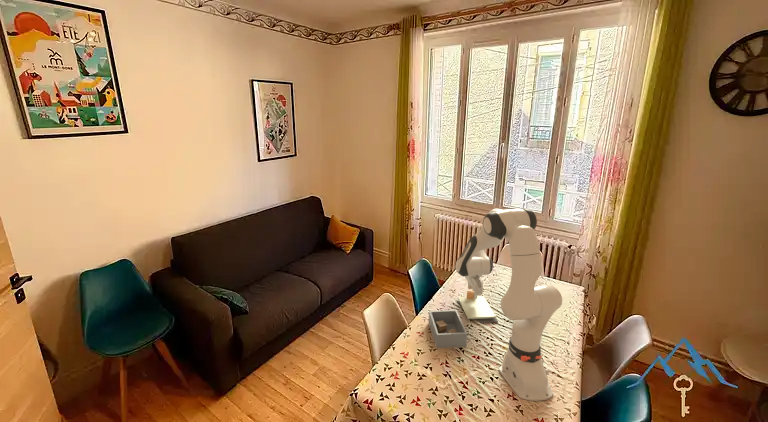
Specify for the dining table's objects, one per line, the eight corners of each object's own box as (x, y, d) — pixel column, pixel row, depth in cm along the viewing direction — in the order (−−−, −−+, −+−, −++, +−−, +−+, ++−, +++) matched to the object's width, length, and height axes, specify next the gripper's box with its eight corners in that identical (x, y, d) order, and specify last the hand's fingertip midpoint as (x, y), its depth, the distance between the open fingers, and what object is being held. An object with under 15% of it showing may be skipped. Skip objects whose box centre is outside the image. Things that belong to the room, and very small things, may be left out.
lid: (495, 319, 175) (496, 309, 173) (467, 321, 174) (468, 310, 172) (483, 299, 193) (484, 290, 191) (457, 300, 192) (458, 291, 190)
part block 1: (446, 331, 166) (447, 325, 164) (439, 333, 164) (439, 326, 163) (442, 327, 169) (443, 320, 168) (435, 328, 168) (435, 321, 167)
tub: (466, 347, 156) (467, 333, 154) (436, 349, 155) (437, 334, 153) (455, 323, 173) (456, 309, 171) (428, 324, 172) (429, 311, 170)
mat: (497, 322, 174) (498, 321, 174) (467, 323, 173) (467, 322, 173) (484, 300, 193) (484, 299, 193) (456, 301, 192) (456, 300, 192)
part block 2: (458, 341, 160) (459, 333, 158) (451, 343, 158) (452, 336, 157) (453, 335, 163) (454, 328, 162) (446, 338, 161) (447, 331, 160)
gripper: (486, 280, 175) (484, 303, 179) (474, 262, 194) (472, 283, 198) (475, 281, 174) (472, 304, 179) (463, 262, 194) (461, 284, 198)
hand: (472, 293), depth 189 cm, fingers open, 8 cm apart
